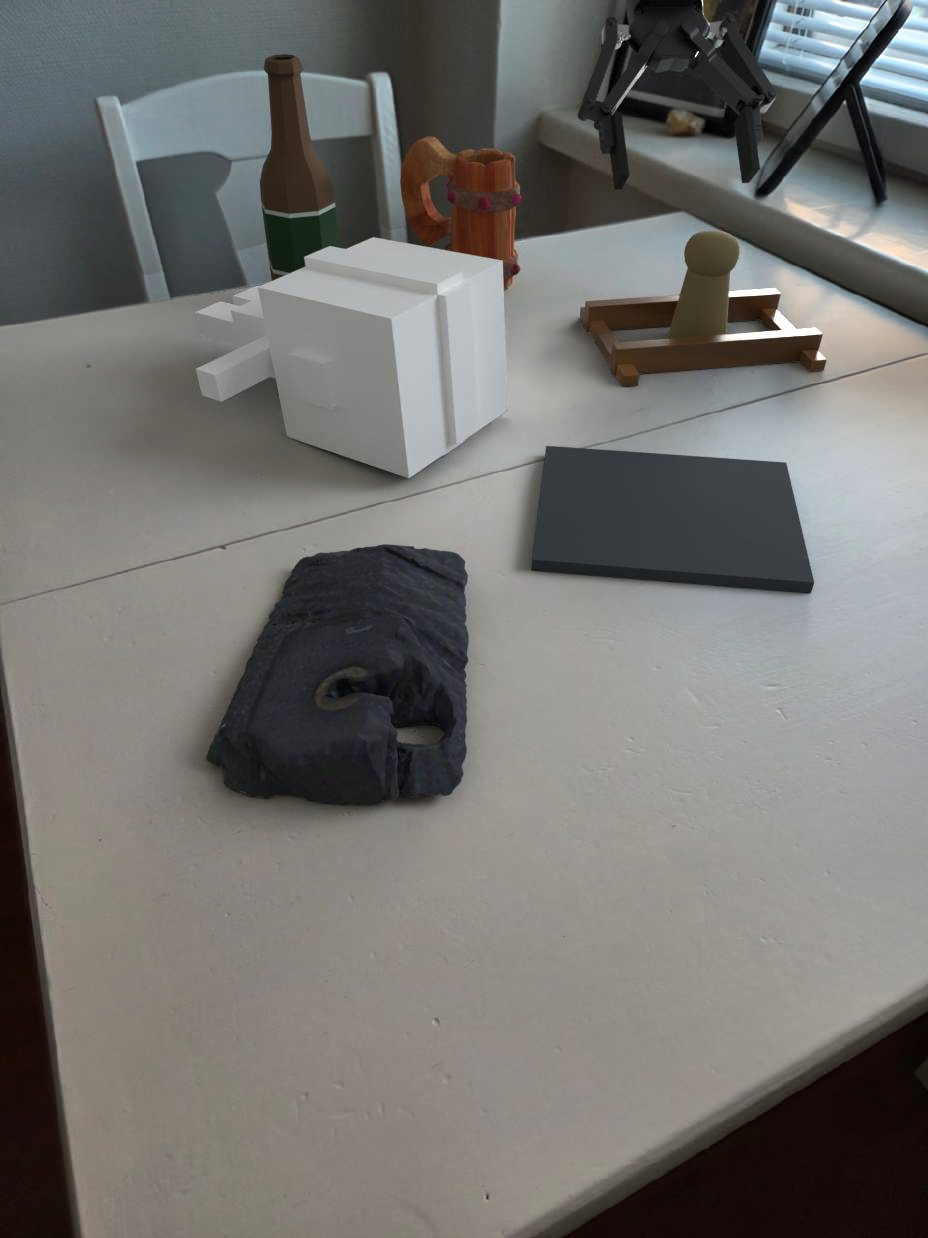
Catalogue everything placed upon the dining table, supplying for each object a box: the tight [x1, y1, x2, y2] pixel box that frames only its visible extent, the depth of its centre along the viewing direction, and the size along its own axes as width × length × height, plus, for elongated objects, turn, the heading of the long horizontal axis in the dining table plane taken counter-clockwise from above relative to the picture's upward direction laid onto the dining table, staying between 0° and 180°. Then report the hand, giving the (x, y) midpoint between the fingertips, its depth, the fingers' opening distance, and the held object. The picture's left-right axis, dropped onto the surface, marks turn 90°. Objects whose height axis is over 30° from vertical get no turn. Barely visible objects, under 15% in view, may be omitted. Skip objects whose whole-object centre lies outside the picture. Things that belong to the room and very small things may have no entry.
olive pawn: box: [666, 229, 741, 339], centre depth 94 cm, size 6×6×11 cm
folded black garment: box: [205, 543, 470, 806], centre depth 60 cm, size 15×22×5 cm
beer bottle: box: [259, 53, 340, 281], centre depth 97 cm, size 8×8×24 cm
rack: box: [579, 287, 828, 388], centre depth 97 cm, size 16×21×3 cm
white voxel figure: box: [195, 236, 509, 479], centre depth 83 cm, size 15×25×28 cm
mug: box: [399, 135, 523, 291], centre depth 104 cm, size 15×8×15 cm, turn 59°
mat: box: [530, 445, 815, 594], centre depth 74 cm, size 20×16×1 cm
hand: (687, 179), depth 96 cm, fingers open, 13 cm apart
